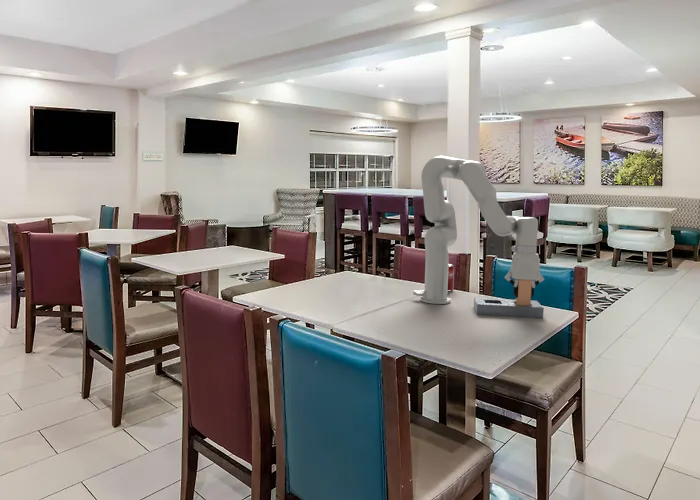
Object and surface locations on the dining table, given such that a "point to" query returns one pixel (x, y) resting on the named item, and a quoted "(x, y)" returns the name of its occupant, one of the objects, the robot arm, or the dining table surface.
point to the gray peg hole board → (507, 308)
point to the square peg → (524, 292)
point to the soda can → (450, 277)
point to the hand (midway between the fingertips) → (523, 296)
